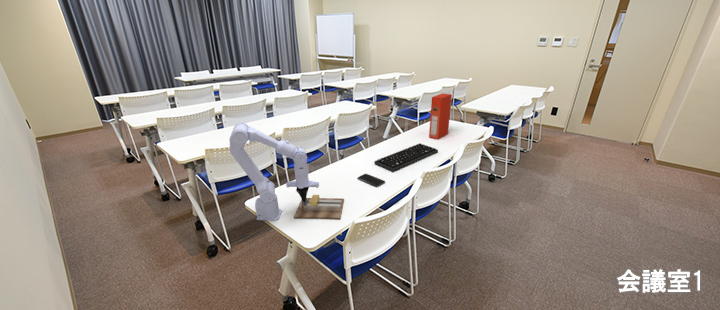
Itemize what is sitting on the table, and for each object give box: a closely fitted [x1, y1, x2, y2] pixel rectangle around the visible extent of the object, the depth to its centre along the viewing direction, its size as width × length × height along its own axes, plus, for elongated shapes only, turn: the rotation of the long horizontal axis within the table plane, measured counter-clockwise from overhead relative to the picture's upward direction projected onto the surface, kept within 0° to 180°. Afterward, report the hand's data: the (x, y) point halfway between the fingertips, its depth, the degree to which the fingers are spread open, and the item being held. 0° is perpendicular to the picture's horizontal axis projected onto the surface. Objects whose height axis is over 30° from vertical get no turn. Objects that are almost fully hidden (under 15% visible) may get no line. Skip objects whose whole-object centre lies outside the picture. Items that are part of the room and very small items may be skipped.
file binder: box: [428, 93, 453, 140], centre depth 223 cm, size 8×17×32 cm, turn 139°
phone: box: [357, 173, 386, 188], centre depth 162 cm, size 8×1×15 cm
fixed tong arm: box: [302, 200, 341, 212], centre depth 134 cm, size 18×4×4 cm, turn 87°
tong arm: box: [309, 199, 342, 206], centre depth 136 cm, size 15×2×3 cm, turn 87°
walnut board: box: [293, 197, 345, 221], centre depth 136 cm, size 21×16×1 cm
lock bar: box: [310, 194, 320, 206], centre depth 133 cm, size 3×6×2 cm, turn 177°
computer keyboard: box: [373, 143, 439, 173], centre depth 189 cm, size 45×16×4 cm, turn 131°
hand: (304, 200), depth 134 cm, fingers closed
